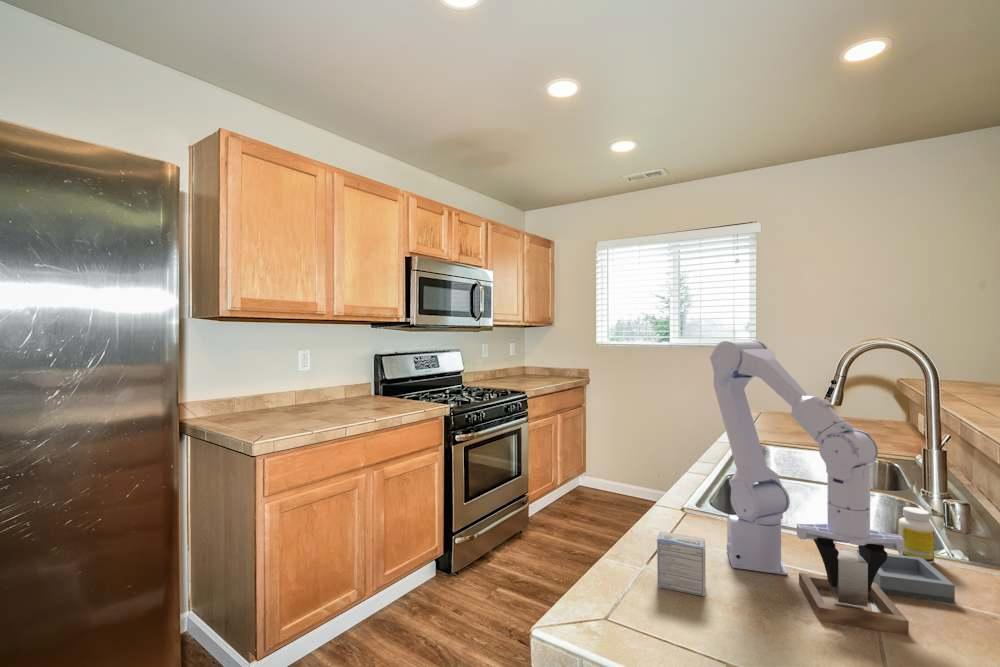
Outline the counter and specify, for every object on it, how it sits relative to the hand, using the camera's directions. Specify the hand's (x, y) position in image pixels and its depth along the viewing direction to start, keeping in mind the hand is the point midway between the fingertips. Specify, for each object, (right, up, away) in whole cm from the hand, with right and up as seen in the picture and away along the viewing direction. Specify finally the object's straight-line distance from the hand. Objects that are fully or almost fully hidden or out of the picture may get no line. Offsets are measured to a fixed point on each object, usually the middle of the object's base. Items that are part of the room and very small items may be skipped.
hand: (848, 586), depth 79 cm
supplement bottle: (+26, -3, +17) cm, 31 cm away
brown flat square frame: (0, -3, 0) cm, 3 cm away
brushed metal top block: (0, -2, 0) cm, 2 cm away
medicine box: (-25, -4, +6) cm, 26 cm away
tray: (+15, -3, +7) cm, 17 cm away
